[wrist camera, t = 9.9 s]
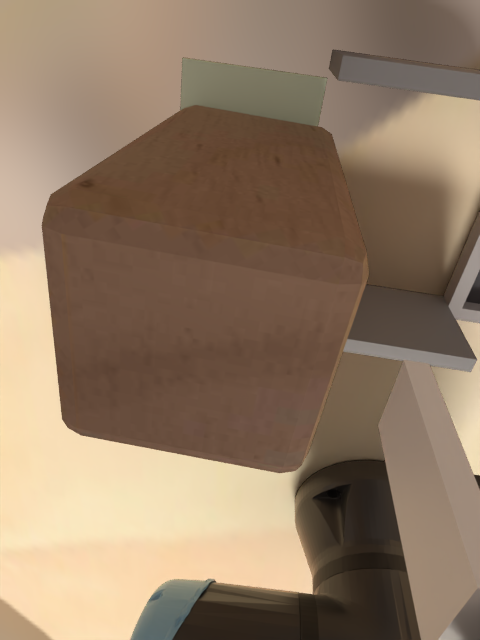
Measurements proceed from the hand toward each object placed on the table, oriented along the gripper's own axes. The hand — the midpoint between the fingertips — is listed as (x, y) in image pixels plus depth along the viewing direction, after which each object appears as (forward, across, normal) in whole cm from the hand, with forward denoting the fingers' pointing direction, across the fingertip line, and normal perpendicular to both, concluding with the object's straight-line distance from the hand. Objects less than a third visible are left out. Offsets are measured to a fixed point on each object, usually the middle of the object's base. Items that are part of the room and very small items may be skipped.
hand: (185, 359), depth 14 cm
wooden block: (+21, 0, 0) cm, 21 cm away
